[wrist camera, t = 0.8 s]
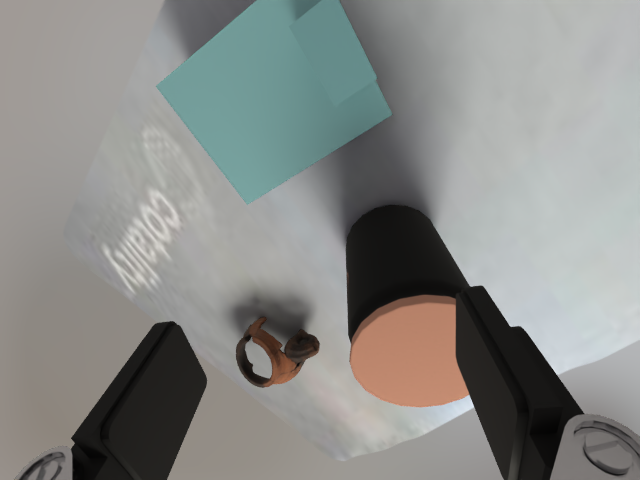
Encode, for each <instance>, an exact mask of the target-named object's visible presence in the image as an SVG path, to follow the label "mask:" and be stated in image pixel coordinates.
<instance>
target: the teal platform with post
mask: <svg viewBox="0 0 640 480" xmlns="http://www.w3.org/2000/svg"><path fill="white" fill-rule="evenodd" d="M376 79H377V76H376V74H375V72H374V70H373V68H372V66H371V64H370V62H369V60H368V58H367V56H366V54H365V52H364V50H363V48H362V46H361V44H360V42H359V40H358V38H357V36H356V34H355V32H354V30H353V28H352V26H351V23H350V21H349V19H348V17H347V15H346V13H345V11H344V9H343V7H342V5H341V3H340V1H339V0H256V1H255V2H254V3H253V4H252V5H250V6H249V7H248V8H247V9H246V10H245V11H243V12H242V13H241V14H240V15H239V16H238V17H236V18H235V19H234V20H233V21H232V22H231V23H229V24H228V25H227V26H226V27H225V28H224V29H222V30H221V31H220V32H219V33H218V34H216V35H215V36H214V37H213V38H212V39H211V40H209V41H208V42H207V43H206V44H205V45H204V46H202V47H201V48H200V49H199V50H198V51H197V52H195V53H194V54H193V55H192V56H191V57H190V58H188V59H187V60H186V61H185V62H184V63H182V64H181V65H180V66H179V67H178V68H177V69H175V70H174V71H173V72H172V73H171V74H170V75H168V76H167V77H166V78H165V79H164V80H163V81H161V82H160V83H159V84H158V85H157V86H156V87H157V89H158V90H159V91H160V92H161V94H162V95H163V96H164V98H165V99H166V100H167V101H168V103H169V104H170V105H171V107H172V108H173V109H174V111H175V112H176V113H177V114H178V116H179V117H180V118H181V120H182V121H183V122H184V123H185V125H186V126H187V127H188V129H189V130H190V131H191V133H192V134H193V135H194V136H195V138H196V139H197V140H198V142H199V143H200V144H201V145H202V147H203V148H204V149H205V151H206V152H207V153H208V155H209V156H210V157H211V158H212V160H213V161H214V162H215V164H216V165H217V166H218V167H219V169H220V170H221V171H222V173H223V174H224V175H225V177H226V178H227V179H228V180H229V182H230V183H231V184H232V186H233V187H234V188H235V189H236V191H237V192H238V193H239V195H240V196H241V197H242V199H243V200H244V201H245V202H246V204H247V205H248V204H250V203H251V202H253V201H254V200H256V199H258V198H259V197H261V196H262V195H264V194H266V193H267V192H269V191H270V190H272V189H274V188H275V187H277V186H278V185H280V184H282V183H283V182H285V181H287V180H288V179H290V178H291V177H293V176H295V175H296V174H298V173H299V172H301V171H303V170H304V169H306V168H307V167H309V166H311V165H312V164H314V163H316V162H317V161H319V160H320V159H322V158H324V157H325V156H327V155H328V154H330V153H332V152H333V151H335V150H336V149H338V148H340V147H341V146H343V145H345V144H346V143H348V142H349V141H351V140H353V139H354V138H356V137H357V136H359V135H361V134H362V133H364V132H365V131H367V130H369V129H370V128H372V127H373V126H375V125H377V124H378V123H380V122H382V121H383V120H385V119H386V118H388V117H390V116H391V115H393V114H392V112H391V110H390V108H389V106H388V104H387V102H386V100H385V98H384V96H383V94H382V92H381V90H380V88H379V86H378V84H377V82H376Z"/></svg>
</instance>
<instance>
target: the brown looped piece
mask: <svg viewBox="0 0 640 480" xmlns="http://www.w3.org/2000/svg"><path fill="white" fill-rule="evenodd" d="M266 320H267V318H266V317H263V318H259V319H258V320H257V321H255V322H254V323H253V324H252V325H250V326H249V327H248V329H247V331H246V332H245V334H244V336H243V338H242V339H241V340H240V341H239V343H238V344H237V347H236V360H237V363H238V366H239V369H240V371H241V372H242V374H243V375H244V377H245V378H246V379H247V380H248V381H249V382H250V383H252V384H253V385H255V386H257V387H262V388H264V387H269V386H271V385H272V384H282V383H285V382H287V381H289V380H291V379H292V378H293V377H295V376H296V375H297V374H298V372H299V371H300V369H301V367H302V365H303V364H304V362H305V360H306V359H308V358H310V357H312V356H314V355H316V354H317V353H318V351H319V345H320V343H319V341H318V340H317V338H316V337H315V336H313V335H311V334H307V333H306V332H305V331H304V330H302V329H300V330H299V332H298V333H297V335H296V336H294V337H293V338H291V339H290V340H289V341H288V342H287V344H286V346H285V349H284V351H285V353H283V352H282V351H281V350H280V348H281V347H282V344H281V343H280V342H279V341H277V340H276V339H275V338H274V337H273V336H271V335H270V334H268V333H267V332H266V331H264V330H263V329H260V328H261V326H262V324H263V323H264V322H265V321H266ZM251 337H252V339H253V342H254V343H256V344H258V345H260V346H261V347H262V348H263V349H264V350H265V351H266V353H267V354H268V356H269V358H270V359H271V363H272V376H271V378H270V379H268V378H264V377H261V376H259V375H257V374H255V373H253V370H252V367H253V364H251V363H250V362H249V360H248V359H247V355H246V351H245V344H246V343H247V342H248V341H249V340H250V339H251Z"/></svg>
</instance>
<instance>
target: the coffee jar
mask: <svg viewBox="0 0 640 480" xmlns="http://www.w3.org/2000/svg"><path fill="white" fill-rule="evenodd" d="M346 271H347V303H348V335H349V339H350V342H351V351H350V365H351V368H352V371H353V374H354V377H355V378H356V380H357V381H358V382H359V383H360V384H361V385H362V387H363V388H364V389H365V390H366V391H367V392H369V393H371V394H372V395H374V396H376V397H377V398H379V399H381V400H383V401H386V402H390V403H393V404H396V405H400V406H410V407H428V406H437V405H444V404H447V403H450V402H453V401H456V400H459V399H462V398H464V397H466V396H467V395H469V392H468V390H467V387H466V385H465V382H464V380H463V377H462V375H461V372H460V370H459V367H458V364H457V360H456V353H455V351H456V293H461V292H462V288H465V287H470V286H469V284H468V283H467V281H466V279H465V278H464V276H463V274H462V273H461V271H460V269H459V267H458V266H457V264H456V262H455V261H454V259H453V257H452V256H451V254H450V252H449V251H448V249H447V247H446V246H445V244H444V242H443V241H442V239H441V237H440V236H439V234H438V232H437V231H436V229H435V227H434V226H433V224H432V222H431V221H430V220H429V219H428V218H427V217H426V216H425V215H424V214H422V213H421V212H420V211H418V210H415V209H413V208H410V207H408V206H400V205H388V206H383V207H379V208H375V209H374V210H372V211H370V212H368V213H366V214H364V215H363V216H362V217H361V218H360V219H359V220H358V221H357V222H356V223H355V224H354V225H353V226H352V229H351V231H350V233H349V235H348V237H347V244H346Z"/></svg>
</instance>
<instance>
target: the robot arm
mask: <svg viewBox="0 0 640 480" xmlns="http://www.w3.org/2000/svg"><path fill="white" fill-rule="evenodd" d="M455 353H456V360H457V364H458V367H459V370H460V372H461V375H462V377H463V380H464V382H465V385H466V387H467V390H468V392H469V395H470V397H471V400H472V402H473V405H474V407H475V409H476V412H477V415H478V417H479V420H480V422H481V425H482V427H483V430H484V432H485V435H486V437H487V440H488V442H489V444H490V447H491V450H492V452H493V455H494V457H495V460H496V462H497V465H498V467H499V469H500V472H501V475H502V477H503V479H504V480H640V436H638V435H637V434H636V433H634V432H633V431H632V430H630V429H629V428H628V427H626V426H624V425H622V424H620V423H619V422H617V421H615V420H612V419H609V418H606V417H603V416H600V415H593V414H584V413H583V411H582V410H581V409H580V407H579V406H578V404H577V403H576V401H575V400H574V399H573V397H572V396H571V394H570V393H569V391H568V390H567V389H566V387H565V386H564V384H563V383H562V382H561V380H560V379H559V377H558V376H557V375H556V373H555V372H554V370H553V369H552V368H551V366H550V365H549V363H548V362H547V361H546V359H545V358H544V356H543V355H542V354H541V352H540V351H539V349H538V348H537V346H536V345H535V344H534V342H533V341H532V339H531V338H530V337H529V335H528V334H527V332H526V331H525V330H524V329H523V328H522V327H520V326H516V327H510V326H509V324H508V323H507V321H506V320H505V318H504V317H503V315H502V314H501V312H500V311H499V309H498V308H497V306H496V305H495V303H494V302H493V300H492V298H491V297H490V295H489V294H488V292H487V291H486V289H485V288H484V287H483V286H473V287H465V288H462V292H461V293H456V351H455ZM206 384H207V378H206V375H205V373H204V371H203V369H202V367H201V365H200V363H199V361H198V359H197V357H196V355H195V353H194V351H193V349H192V347H191V346H190V344H189V342H188V340H187V338H186V336H185V334H184V332H183V330H182V328H181V327H180V326H179V325H177V324H176V323H175V322H173V321H170V322H161V323H157V324H155V325H154V326H153V327H152V328H151V330H150V331H149V332H148V334H147V335H146V337H145V338H144V339H143V340H142V342H141V343H140V345H139V346H138V347H137V349H136V350H135V351H134V353H133V354H132V356H131V357H130V358H129V360H128V361H127V363H126V364H125V365H124V367H123V368H122V369H121V371H120V372H119V373H118V375H117V376H116V378H115V379H114V380H113V382H112V383H111V384H110V386H109V387H108V389H107V390H106V391H105V393H104V394H103V395H102V397H101V398H100V399H99V401H98V402H97V404H96V405H95V406H94V408H93V409H92V410H91V412H90V413H89V415H88V416H87V417H86V419H85V420H84V421H83V423H82V424H81V425H80V427H79V428H78V430H77V431H76V432H75V434H74V435H73V436H72V438H71V439H72V440H73V441H74V442H75V444H74V446H73V447H72V448H71V449H70V448H68V447H67V446H58V447H55V448H52V449H49V450H47V451H45V452H44V453H42V454H40V455H39V456H38V457H36V458H35V459H33V460H32V461H31V462H30V463H29V464H28V465H26V466H25V467H24V468H23V469H22V470H21V472H20V473H19V474H18V475H17V476H16V477H15V479H14V480H167V478H168V476H169V473H170V471H171V468H172V466H173V464H174V461H175V459H176V456H177V454H178V452H179V450H180V447H181V445H182V442H183V440H184V437H185V435H186V433H187V430H188V428H189V426H190V423H191V421H192V419H193V416H194V414H195V412H196V409H197V407H198V405H199V402H200V400H201V397H202V395H203V393H204V390H205V388H206Z"/></svg>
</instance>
